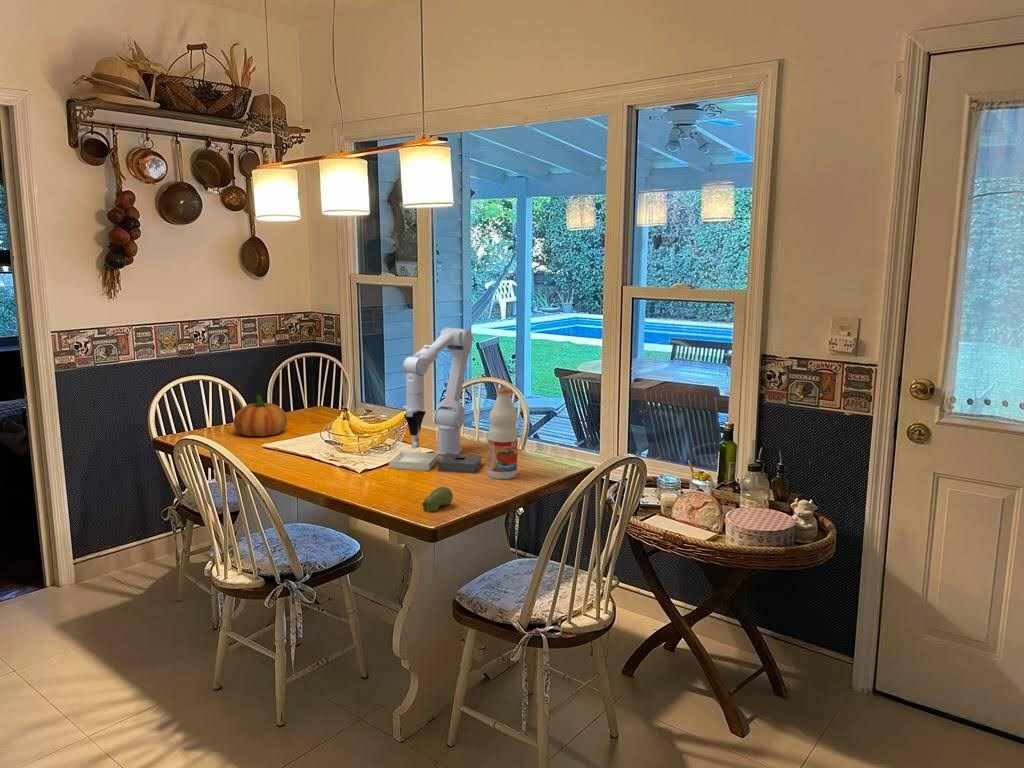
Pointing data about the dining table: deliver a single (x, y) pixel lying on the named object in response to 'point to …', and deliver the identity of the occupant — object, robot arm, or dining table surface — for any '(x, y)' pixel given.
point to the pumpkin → (260, 419)
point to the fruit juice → (502, 437)
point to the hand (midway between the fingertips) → (414, 434)
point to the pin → (415, 440)
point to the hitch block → (459, 463)
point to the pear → (438, 499)
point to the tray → (413, 461)
